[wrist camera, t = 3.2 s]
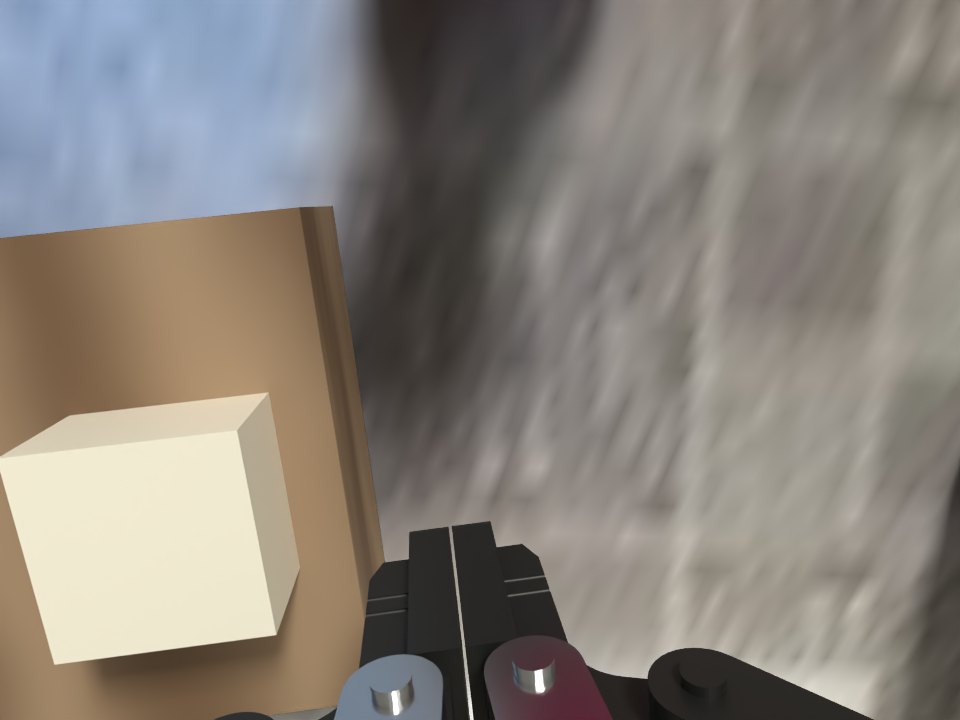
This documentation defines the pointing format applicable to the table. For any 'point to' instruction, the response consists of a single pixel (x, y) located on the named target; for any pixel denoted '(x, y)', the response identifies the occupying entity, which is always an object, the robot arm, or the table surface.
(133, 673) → the ledge
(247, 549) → the cream square block
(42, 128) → the table surface
